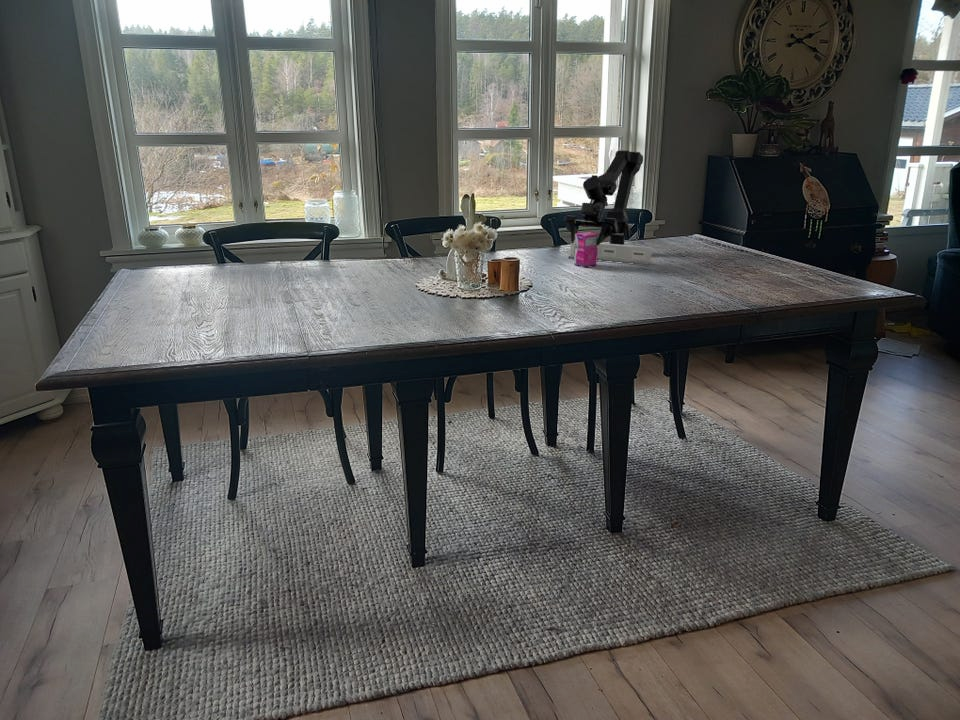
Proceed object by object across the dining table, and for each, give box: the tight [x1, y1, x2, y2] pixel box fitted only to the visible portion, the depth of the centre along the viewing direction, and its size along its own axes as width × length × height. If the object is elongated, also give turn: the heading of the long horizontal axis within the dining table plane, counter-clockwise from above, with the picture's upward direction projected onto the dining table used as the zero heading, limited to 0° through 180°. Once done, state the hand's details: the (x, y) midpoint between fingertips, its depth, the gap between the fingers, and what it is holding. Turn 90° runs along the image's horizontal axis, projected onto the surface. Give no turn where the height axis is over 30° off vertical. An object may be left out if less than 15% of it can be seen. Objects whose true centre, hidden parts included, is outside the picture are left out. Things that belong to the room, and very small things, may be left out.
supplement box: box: [573, 231, 598, 268], centre depth 255 cm, size 6×6×12 cm
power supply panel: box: [568, 241, 653, 266], centre depth 264 cm, size 6×30×6 cm, turn 62°
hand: (584, 243), depth 253 cm, fingers open, 9 cm apart
